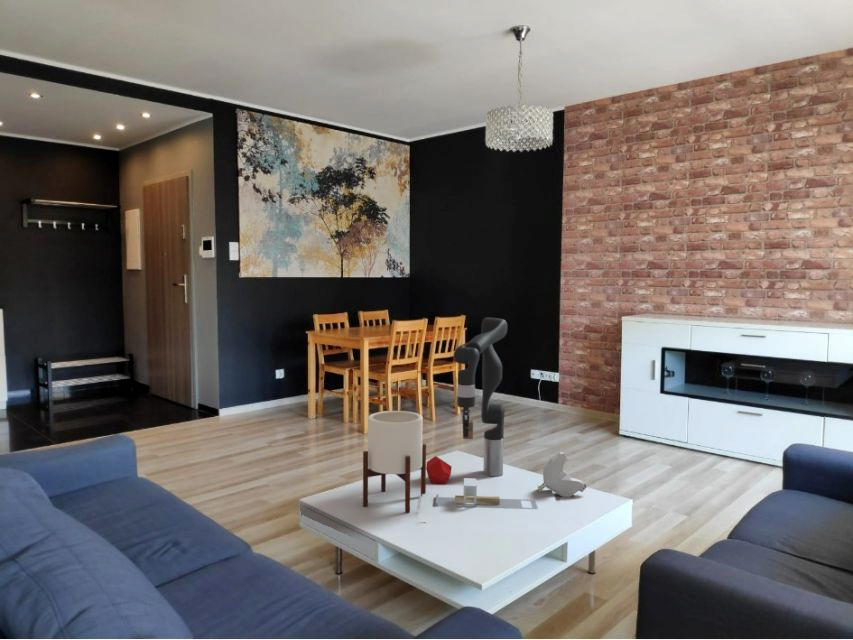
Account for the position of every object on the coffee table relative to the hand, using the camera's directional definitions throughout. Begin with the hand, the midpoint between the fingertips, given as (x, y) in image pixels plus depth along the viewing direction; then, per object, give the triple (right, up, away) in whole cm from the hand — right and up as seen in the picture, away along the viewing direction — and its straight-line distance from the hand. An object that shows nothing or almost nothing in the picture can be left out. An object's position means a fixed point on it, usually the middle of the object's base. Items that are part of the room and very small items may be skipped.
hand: (465, 435), depth 251 cm
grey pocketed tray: (+7, -28, -6) cm, 29 cm away
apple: (-11, -26, +23) cm, 37 cm away
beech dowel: (+4, -26, -7) cm, 27 cm away
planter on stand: (-29, -27, -2) cm, 40 cm away
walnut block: (+1, -1, 0) cm, 1 cm away
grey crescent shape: (+42, -27, +8) cm, 51 cm away
